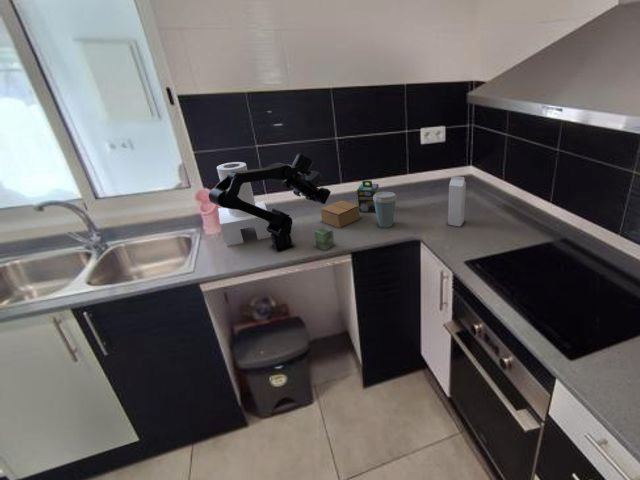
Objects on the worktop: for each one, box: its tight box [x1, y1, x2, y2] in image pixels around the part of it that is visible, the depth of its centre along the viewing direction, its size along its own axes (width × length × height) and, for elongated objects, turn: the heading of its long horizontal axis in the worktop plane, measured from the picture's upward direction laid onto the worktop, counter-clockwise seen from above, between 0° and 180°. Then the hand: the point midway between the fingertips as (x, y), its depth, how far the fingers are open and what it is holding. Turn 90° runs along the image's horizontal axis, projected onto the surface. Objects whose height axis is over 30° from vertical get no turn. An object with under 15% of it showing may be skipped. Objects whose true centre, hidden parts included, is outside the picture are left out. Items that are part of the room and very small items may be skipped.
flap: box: [320, 204, 349, 215], centre depth 173 cm, size 6×12×1 cm, turn 54°
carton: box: [320, 200, 361, 229], centre depth 177 cm, size 13×12×7 cm
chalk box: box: [356, 180, 380, 213], centre depth 187 cm, size 9×9×15 cm
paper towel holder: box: [216, 161, 272, 247], centre depth 160 cm, size 19×19×30 cm
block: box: [314, 226, 335, 251], centre depth 154 cm, size 5×5×7 cm
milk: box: [447, 175, 467, 227], centre depth 169 cm, size 6×6×22 cm
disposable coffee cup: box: [373, 191, 398, 228], centre depth 170 cm, size 11×11×15 cm
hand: (324, 201), depth 167 cm, fingers closed
